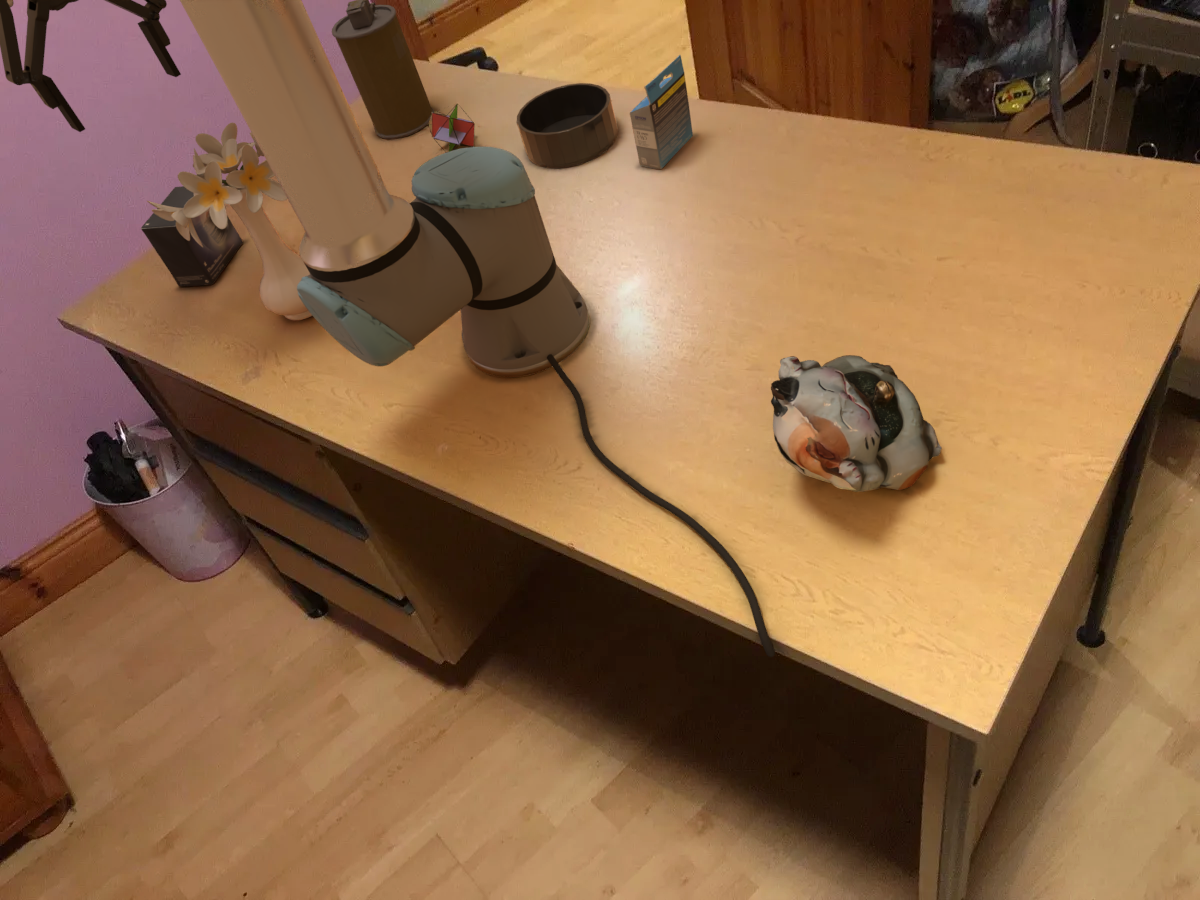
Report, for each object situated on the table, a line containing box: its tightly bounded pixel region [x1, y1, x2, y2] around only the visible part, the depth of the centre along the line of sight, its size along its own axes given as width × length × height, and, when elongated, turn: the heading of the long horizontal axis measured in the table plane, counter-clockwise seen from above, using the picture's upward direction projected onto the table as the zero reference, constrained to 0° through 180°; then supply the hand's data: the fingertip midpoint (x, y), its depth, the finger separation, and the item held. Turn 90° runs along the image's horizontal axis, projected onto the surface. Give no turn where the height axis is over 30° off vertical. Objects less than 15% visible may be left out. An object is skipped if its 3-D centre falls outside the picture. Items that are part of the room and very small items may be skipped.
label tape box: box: [629, 54, 694, 170], centre depth 129 cm, size 9×4×12 cm, turn 144°
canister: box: [331, 0, 435, 140], centre depth 151 cm, size 11×10×20 cm
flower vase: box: [146, 122, 313, 321], centre depth 118 cm, size 13×18×25 cm
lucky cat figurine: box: [770, 354, 943, 493], centre depth 84 cm, size 15×12×14 cm
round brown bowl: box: [516, 82, 619, 169], centre depth 139 cm, size 14×14×6 cm
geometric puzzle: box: [428, 102, 476, 152], centre depth 146 cm, size 7×7×8 cm
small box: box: [140, 185, 244, 288], centre depth 137 cm, size 11×6×10 cm, turn 168°
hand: (127, 101), depth 117 cm, fingers open, 13 cm apart
